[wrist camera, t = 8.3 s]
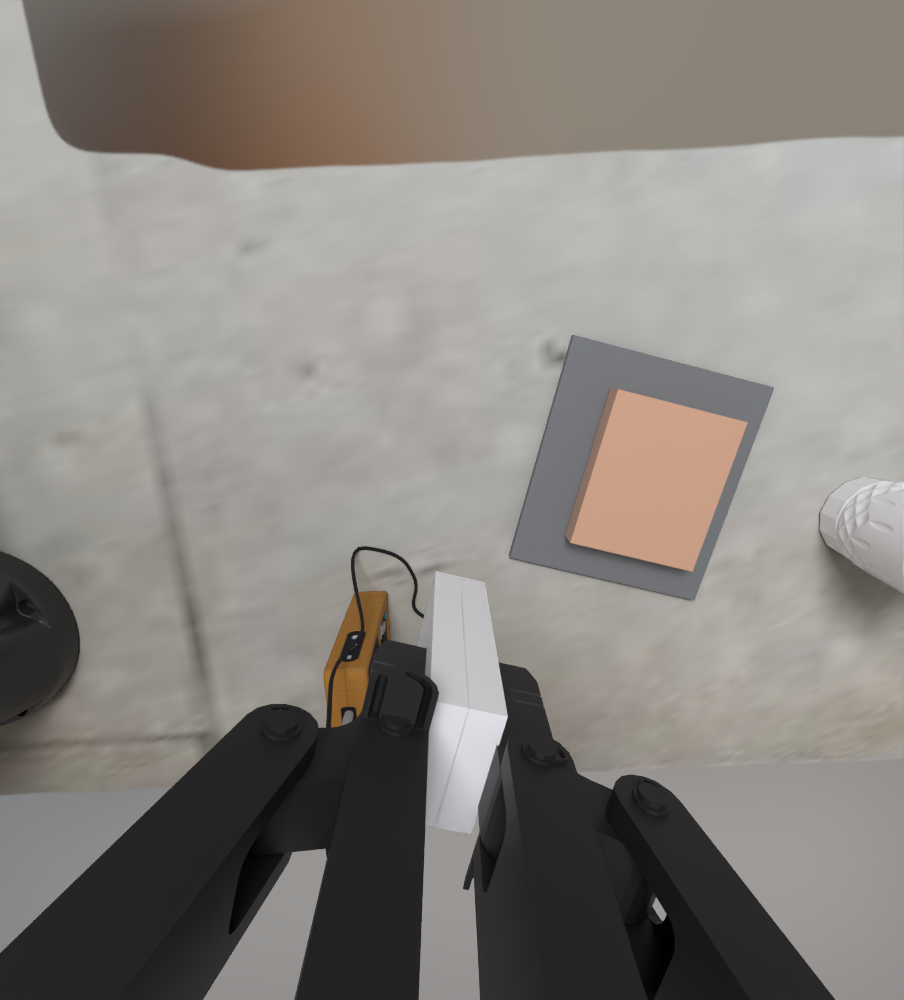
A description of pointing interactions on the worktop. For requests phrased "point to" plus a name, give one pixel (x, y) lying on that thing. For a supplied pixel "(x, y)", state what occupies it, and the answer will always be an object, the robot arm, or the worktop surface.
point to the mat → (572, 440)
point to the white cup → (868, 527)
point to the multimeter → (357, 650)
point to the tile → (653, 479)
